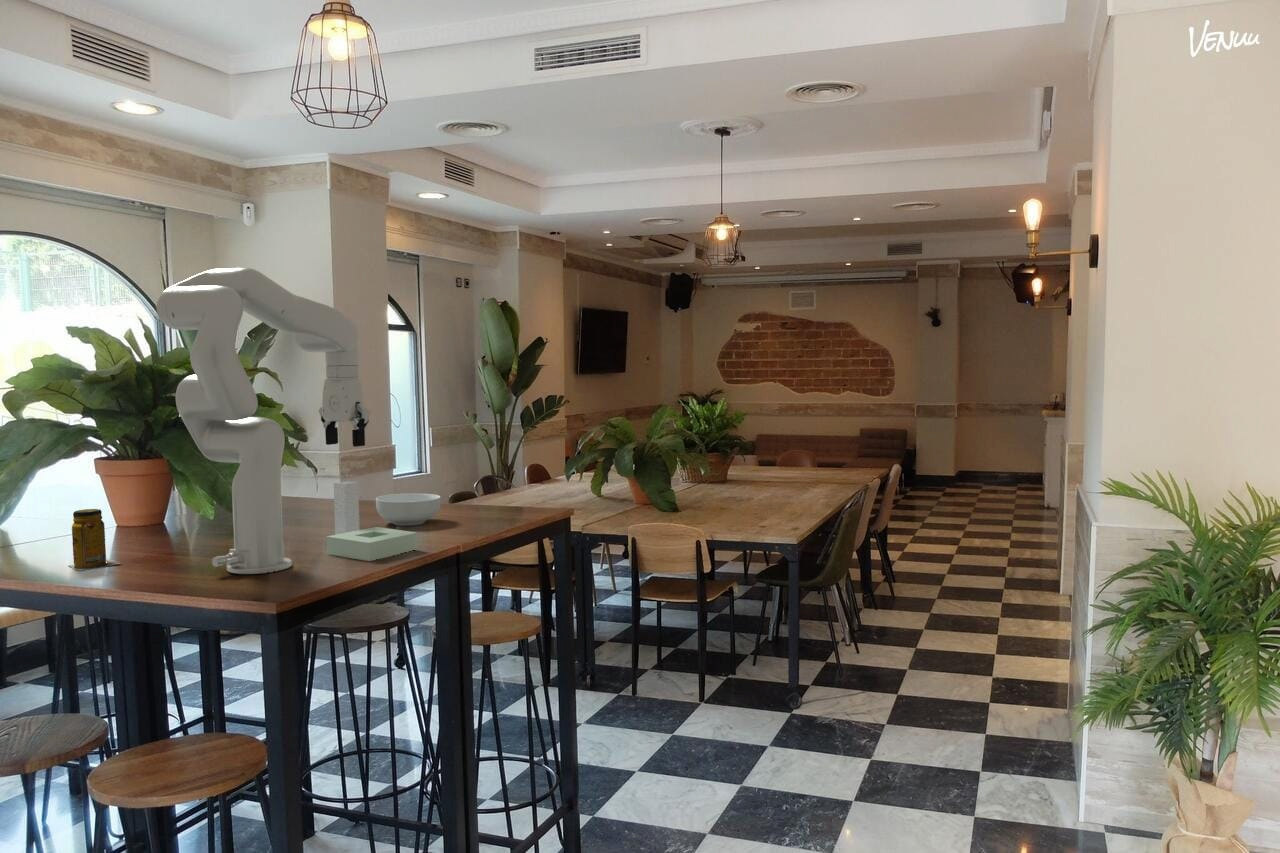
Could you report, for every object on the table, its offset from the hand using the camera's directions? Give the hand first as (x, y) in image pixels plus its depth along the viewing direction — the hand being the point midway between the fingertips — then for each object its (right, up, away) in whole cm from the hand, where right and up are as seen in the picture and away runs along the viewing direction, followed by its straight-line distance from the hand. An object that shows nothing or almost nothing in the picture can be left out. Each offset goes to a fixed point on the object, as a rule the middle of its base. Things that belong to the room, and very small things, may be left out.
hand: (345, 445), depth 229 cm
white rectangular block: (0, -23, +1) cm, 23 cm away
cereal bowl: (+9, -21, +25) cm, 34 cm away
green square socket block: (+10, -24, -12) cm, 29 cm away
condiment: (-46, -26, -24) cm, 58 cm away
